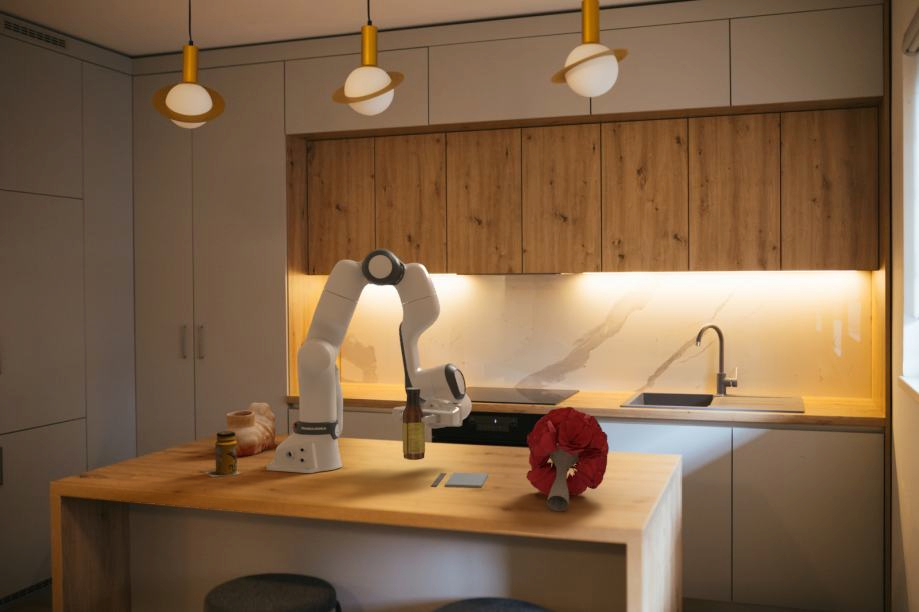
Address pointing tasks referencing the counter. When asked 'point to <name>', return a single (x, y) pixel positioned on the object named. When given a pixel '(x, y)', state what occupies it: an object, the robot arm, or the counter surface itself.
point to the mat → (467, 480)
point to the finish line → (438, 479)
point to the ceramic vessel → (253, 429)
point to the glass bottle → (339, 401)
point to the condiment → (225, 455)
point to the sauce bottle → (413, 426)
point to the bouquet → (566, 455)
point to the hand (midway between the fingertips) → (411, 419)
